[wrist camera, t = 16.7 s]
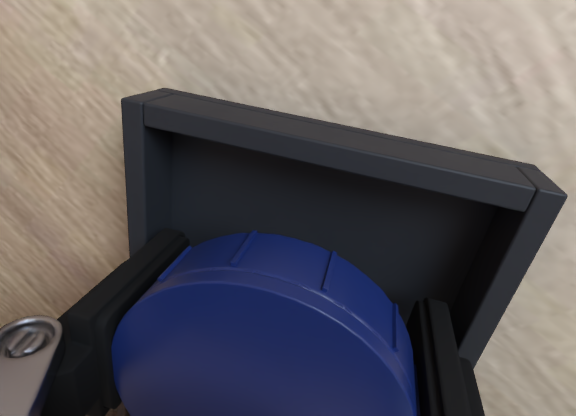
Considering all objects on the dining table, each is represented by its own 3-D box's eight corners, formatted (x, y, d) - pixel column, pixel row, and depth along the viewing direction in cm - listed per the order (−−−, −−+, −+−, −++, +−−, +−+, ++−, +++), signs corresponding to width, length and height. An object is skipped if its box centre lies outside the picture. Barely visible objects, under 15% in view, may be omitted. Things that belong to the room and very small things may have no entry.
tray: (535, 164, 9) (570, 195, 8) (412, 419, 14) (416, 474, 12) (163, 87, 11) (119, 97, 9) (164, 339, 15) (135, 378, 14)
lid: (154, 199, 8) (96, 240, 7) (456, 279, 7) (474, 349, 6) (158, 391, 11) (118, 452, 10) (372, 465, 10) (369, 548, 9)
